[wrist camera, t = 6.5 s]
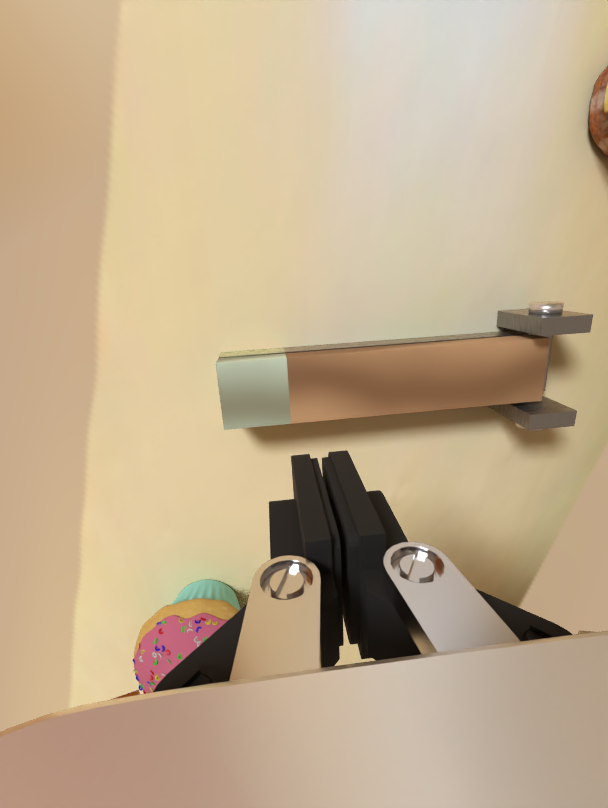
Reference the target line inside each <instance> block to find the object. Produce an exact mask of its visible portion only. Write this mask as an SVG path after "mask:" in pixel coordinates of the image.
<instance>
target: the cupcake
mask: <svg viewBox="0 0 608 808" xmlns="http://www.w3.org/2000/svg"><path fill="white" fill-rule="evenodd" d="M239 610H241V609H240V606H239V602H238V599H237V596H236V594H235V592H234V591H233V590H232V589H231V588H230V587H229V586H228V585H226V584H224V583H222V582H219V581H215V580H201V581H197V582H194V583H192V584H190V585H188V586H187V587H185V588H184V589H183V590H182V591H181V592H180V594H179V595H178V597H177V598H176V600H175V601H174V603H173V604H172V605H167V606H165V607H163V608H162V609H160V610H159V611H158V612H157V613H156V614H155V615H154V616H152V617H151V618H150V619H149V620H148V621H147V622H146V623H145V624H144V625H143V626H142V628H141V630H140V633H139V636H138V639H137V642H136V646H135V651H134V659H133V662H134V668H135V669H134V672H135V675H136V679H137V680H138V681H139V683H140V684H139V690H141V691H142V690H143V692H144V694H146V693H151V692H153V691H154V689H155V688H156V686H157V685H158V683H159V682H160V681H161V680H162V679H163V678H164V677H165V676H166V675H167V674H168V673H169V672H170V671H171V670H172V669H173V668H175V667H176V666H177V665H178V664H179V663H180V662H181V661H183V660H184V659H185V658H186V657H187V656H188V655H189V654H191V653H192V652H193V651H194V650H195V649H196V648H197V647H199V646H200V645H201V644H202V643H203V642H204V641H205V640H206V639H208V638H209V637H210V636H211V635H212V634H213V633H214V632H216V631H217V630H218V629H219V628H220V627H221V626H222V625H224V624H225V623H226V622H227V621H228V620H229V619H230V618H232V617H233V616H234V615H235V614H236V613H237V612H238V611H239ZM140 686H141V687H142V688H141V687H140ZM140 688H141V689H140Z"/></svg>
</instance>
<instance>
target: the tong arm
mask: <svg viewBox="0 0 608 808" xmlns="http://www.w3.org/2000/svg"><path fill="white" fill-rule="evenodd" d="M549 344H550V338H549V337H544V336H539V335H534V334H531V335H518V336H505V337H492V338H479V339H466V340H453V341H440V342H427V343H414V344H401V345H388V346H375V347H362V348H349V349H336V350H323V351H310V352H297V353H284V354H270V355H257V356H244V357H231V358H218V360H217V362H216V370H217V378H218V386H219V394H220V401H221V409H222V417H223V425H224V430H228V429H239V428H250V427H261V426H272V425H283V424H293V423H304V422H315V421H326V420H337V419H348V418H359V417H370V416H381V415H391V414H402V413H413V412H424V411H435V410H446V409H457V408H468V407H479V406H490V405H500V404H511V403H522V402H533V401H542V395H543V387H544V380H545V373H546V366H547V358H548V351H549Z"/></svg>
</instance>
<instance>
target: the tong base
mask: <svg viewBox="0 0 608 808" xmlns="http://www.w3.org/2000/svg"><path fill="white" fill-rule="evenodd" d="M563 306H564V303H563V302H532V303H529V309H519V310H505V311H498V318H497V326H499V327H503V328H508V329H512V330H516V331H503V332H490V333H476V334H463V335H449V336H436V337H423V338H409V339H396V340H383V341H369V342H356V343H342V344H329V345H316V346H302V347H289V348H275V349H262V350H249V351H235V352H222V353H221V354H220V356H219V358H231V357H244V356H257V355H270V354H284V353H297V352H310V351H323V350H336V349H349V348H362V347H375V346H388V345H401V344H414V343H427V342H440V341H453V340H466V339H479V338H492V337H505V336H518V335H531V334H534V335H539V336H544V337H549V338H550V344H549V351H548V358H547V366H546V373H545V380H544V387H543V391H545V386H546V379H547V372H548V365H549V358H550V351H551V343H552V336H553V335H561V334H574V333H587V332H590V330H591V324H592V318H593V315H592V314H584V313H576V312H568V311H563ZM489 407H490V408H491V409H493V410H495V411H497V412H498V413H500V414H502V415H503V416H505V417H507V418H508V419H510V420H512V421H514V422H515V425H516V426H517V427H519V428H521V429H524V430H530V431H541V430H544V429H547V428H557V427H568V426H574V424H575V418H576V413H577V411H576V410H574V409H572V408H569V407H567V406H565V405H563V404H560V403H558V402H556V401H553V400H551V399H549V398H546V397H544V396H542V401H533V402H522V403H511V404H500V405H490V406H489Z"/></svg>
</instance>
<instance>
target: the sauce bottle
mask: <svg viewBox="0 0 608 808" xmlns="http://www.w3.org/2000/svg"><path fill="white" fill-rule="evenodd" d="M589 128H590V132H591V135H592V138H593V140H594V142H595V143H596V144H597V146H598V147H599V148H600V149H601V150H602V152H603V153H604V154H605V155H607V156H608V66H607V67H606V69H605V70H604V71H603V72H602V73H601V75H600V76H599V78H598V79H597V81H596V83H595V85H594V89H593V93H592V97H591V102H590V114H589Z"/></svg>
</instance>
